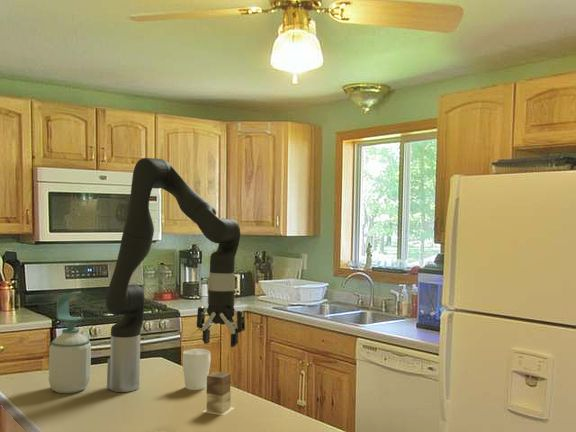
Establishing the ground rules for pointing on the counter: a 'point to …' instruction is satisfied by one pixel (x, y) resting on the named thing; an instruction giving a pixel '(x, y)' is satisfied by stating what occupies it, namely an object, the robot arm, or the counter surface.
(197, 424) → the counter surface
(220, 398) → the maple block
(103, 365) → the counter surface
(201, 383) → the cup
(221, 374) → the walnut block
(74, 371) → the soap bottle
